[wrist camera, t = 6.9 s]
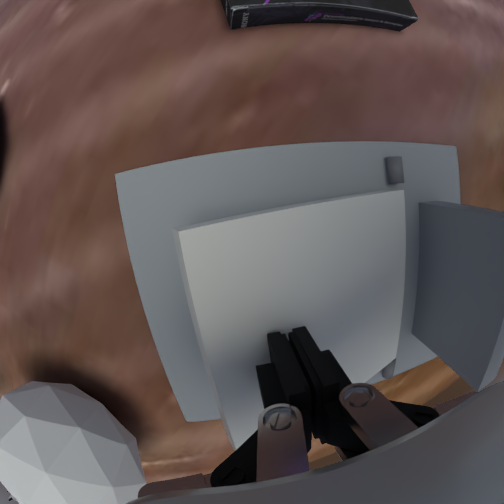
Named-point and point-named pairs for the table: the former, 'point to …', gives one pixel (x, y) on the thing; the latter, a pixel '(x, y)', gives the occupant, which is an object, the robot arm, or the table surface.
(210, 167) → the board
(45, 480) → the geodesic sphere
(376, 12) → the box
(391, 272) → the tile
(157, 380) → the table surface
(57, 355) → the table surface
